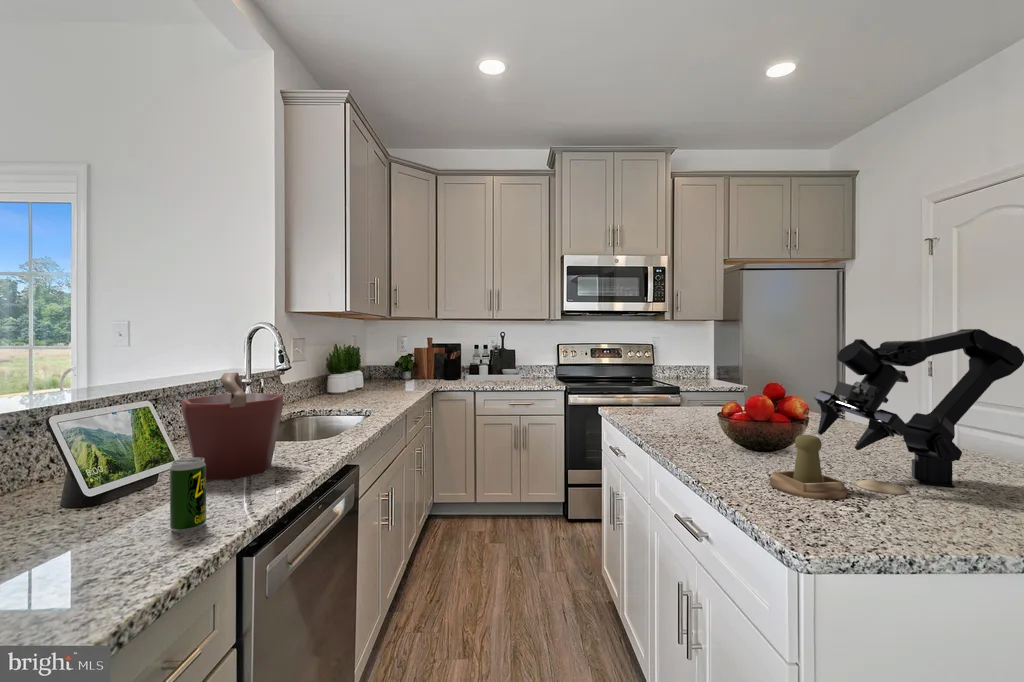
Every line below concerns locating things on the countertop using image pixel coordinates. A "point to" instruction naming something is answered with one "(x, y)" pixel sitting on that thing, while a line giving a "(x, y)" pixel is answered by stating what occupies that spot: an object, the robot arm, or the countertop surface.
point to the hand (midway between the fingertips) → (837, 441)
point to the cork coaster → (881, 487)
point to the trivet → (808, 486)
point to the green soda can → (187, 494)
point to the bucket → (233, 430)
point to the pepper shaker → (808, 459)
